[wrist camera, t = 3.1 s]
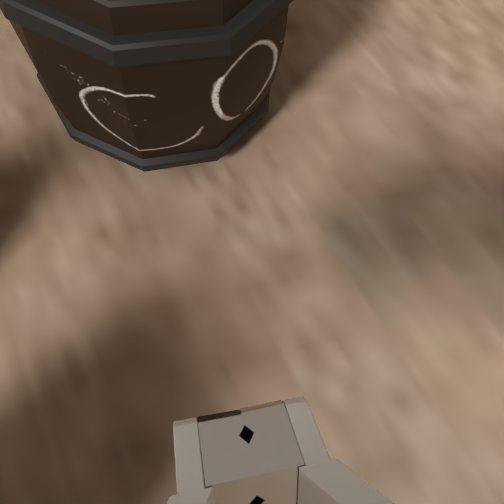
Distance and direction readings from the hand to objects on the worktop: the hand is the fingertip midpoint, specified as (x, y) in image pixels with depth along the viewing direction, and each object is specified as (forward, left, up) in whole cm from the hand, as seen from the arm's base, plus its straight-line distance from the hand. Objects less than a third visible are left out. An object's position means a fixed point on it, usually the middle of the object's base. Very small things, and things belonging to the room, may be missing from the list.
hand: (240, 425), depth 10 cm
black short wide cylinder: (0, -24, -21) cm, 32 cm away
